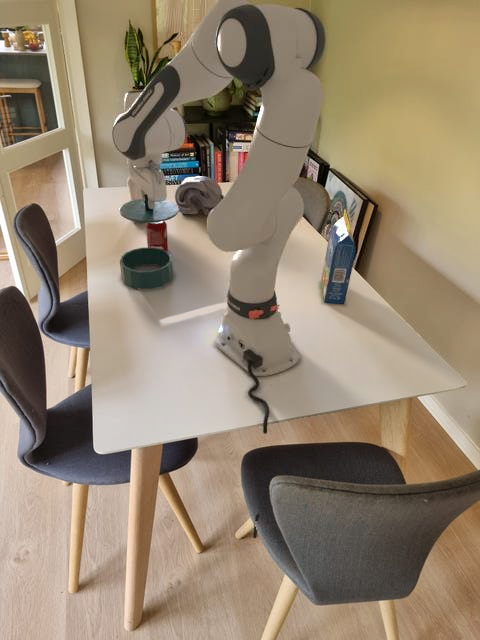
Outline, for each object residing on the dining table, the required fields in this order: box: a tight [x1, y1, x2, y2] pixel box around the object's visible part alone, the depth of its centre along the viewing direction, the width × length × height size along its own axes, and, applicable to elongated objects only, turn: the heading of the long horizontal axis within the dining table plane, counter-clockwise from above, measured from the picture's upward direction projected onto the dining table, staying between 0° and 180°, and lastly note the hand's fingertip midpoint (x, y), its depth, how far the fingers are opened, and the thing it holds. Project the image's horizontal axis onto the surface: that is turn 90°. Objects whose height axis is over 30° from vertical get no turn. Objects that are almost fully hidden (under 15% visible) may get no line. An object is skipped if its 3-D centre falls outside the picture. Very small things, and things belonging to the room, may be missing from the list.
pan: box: [119, 247, 174, 291], centre depth 138 cm, size 16×16×6 cm
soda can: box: [145, 220, 169, 252], centre depth 150 cm, size 7×7×12 cm
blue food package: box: [320, 209, 357, 306], centre depth 130 cm, size 6×12×25 cm, turn 176°
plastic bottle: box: [126, 175, 143, 202], centre depth 168 cm, size 6×7×20 cm
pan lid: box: [119, 194, 180, 224], centre depth 127 cm, size 17×17×5 cm
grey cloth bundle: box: [174, 175, 225, 216], centre depth 179 cm, size 20×18×15 cm
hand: (149, 205), depth 127 cm, fingers closed on pan lid, 2 cm apart
